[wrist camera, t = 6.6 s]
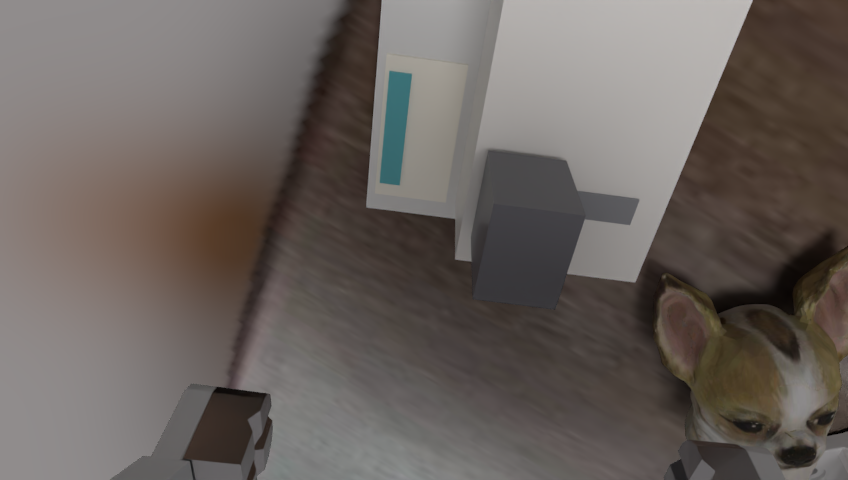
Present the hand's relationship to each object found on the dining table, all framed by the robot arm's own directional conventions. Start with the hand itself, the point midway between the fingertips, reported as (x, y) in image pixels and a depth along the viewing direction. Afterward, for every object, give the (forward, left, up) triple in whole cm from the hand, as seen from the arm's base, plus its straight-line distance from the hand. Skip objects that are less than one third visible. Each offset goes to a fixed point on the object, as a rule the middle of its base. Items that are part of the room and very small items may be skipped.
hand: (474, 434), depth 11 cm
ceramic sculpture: (-13, -18, -20) cm, 30 cm away
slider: (-2, -2, -13) cm, 13 cm away
